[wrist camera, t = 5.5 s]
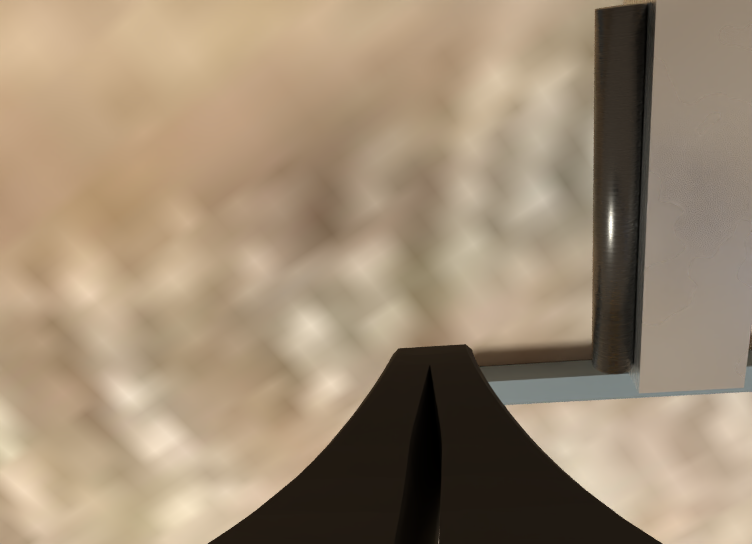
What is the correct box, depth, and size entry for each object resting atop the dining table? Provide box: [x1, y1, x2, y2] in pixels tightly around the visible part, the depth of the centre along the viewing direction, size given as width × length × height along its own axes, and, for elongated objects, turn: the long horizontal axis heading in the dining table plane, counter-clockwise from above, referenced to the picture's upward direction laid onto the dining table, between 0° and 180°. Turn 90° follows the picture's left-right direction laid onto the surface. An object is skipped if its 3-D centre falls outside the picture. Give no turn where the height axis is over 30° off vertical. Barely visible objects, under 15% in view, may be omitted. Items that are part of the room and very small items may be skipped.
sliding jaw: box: [592, 0, 752, 393], centre depth 18 cm, size 4×12×3 cm, turn 7°
